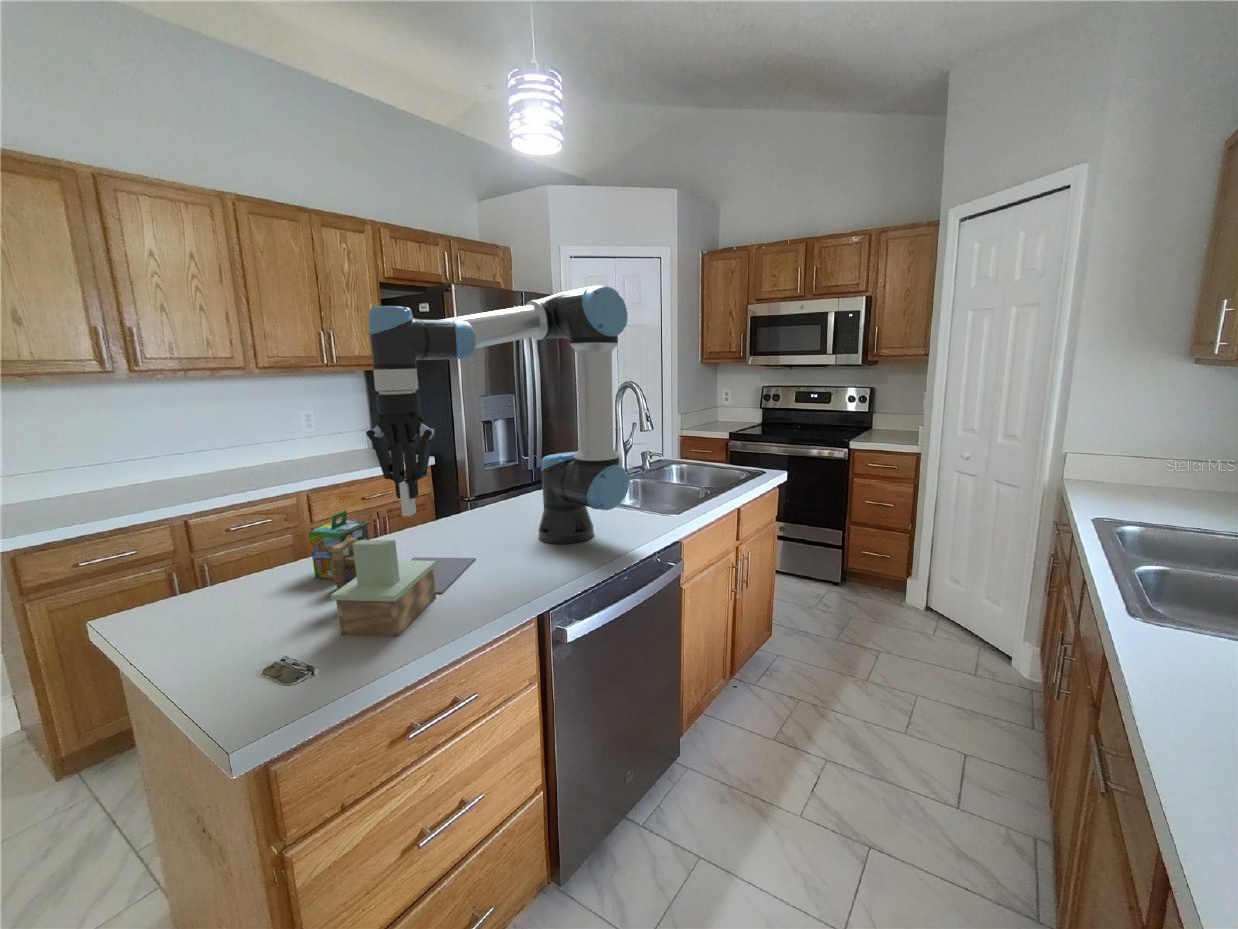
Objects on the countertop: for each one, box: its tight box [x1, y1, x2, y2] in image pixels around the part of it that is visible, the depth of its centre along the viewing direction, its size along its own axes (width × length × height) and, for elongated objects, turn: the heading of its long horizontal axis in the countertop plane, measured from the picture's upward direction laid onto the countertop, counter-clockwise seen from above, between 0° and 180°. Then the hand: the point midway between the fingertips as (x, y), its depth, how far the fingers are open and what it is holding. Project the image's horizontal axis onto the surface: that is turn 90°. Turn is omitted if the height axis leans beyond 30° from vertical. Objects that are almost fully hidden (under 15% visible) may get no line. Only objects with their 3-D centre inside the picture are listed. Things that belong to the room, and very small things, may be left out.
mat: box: [409, 556, 477, 595], centre depth 127 cm, size 16×20×1 cm
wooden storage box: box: [331, 538, 437, 637], centre depth 107 cm, size 16×17×13 cm
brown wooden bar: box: [331, 555, 355, 568], centre depth 110 cm, size 2×11×4 cm, turn 84°
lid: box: [330, 539, 436, 601], centre depth 106 cm, size 17×12×9 cm
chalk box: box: [308, 510, 370, 580], centre depth 129 cm, size 9×9×15 cm
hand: (409, 514), depth 107 cm, fingers closed
